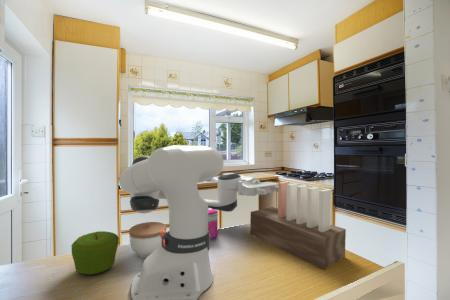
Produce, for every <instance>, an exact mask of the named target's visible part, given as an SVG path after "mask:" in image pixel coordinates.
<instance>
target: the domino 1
mask: <svg viewBox="0 0 450 300" xmlns="http://www.w3.org/2000/svg"><path fill="white" fill-rule="evenodd" d="M277 183H278V192H277V208H278V217H280V218H282V217H285V216H286V207H287V184H290V182H289V181H282V182H277Z"/></svg>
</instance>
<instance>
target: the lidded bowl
mask: <svg viewBox="0 0 450 300" xmlns="http://www.w3.org/2000/svg"><path fill="white" fill-rule="evenodd" d="M162 230H166V231H167V226H166V224H165V223H163V222H158V221H148V222H147V221H146V222H142V223H137V224H135V225H133V226H131V227H130V228H129V231H128V234H129V244H130V247H131V250H132V251H133V253H135V254H136V255H137V256H138V257H139V258H142V259H143V258H144V259H146V258H147V257H148V256H149V255H150V254H152V253H153V252H154V251H155V250H157V249H158V248H159V247H160V246H162V238H161V237H160V232H161V231H162Z"/></svg>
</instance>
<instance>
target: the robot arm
mask: <svg viewBox="0 0 450 300" xmlns="http://www.w3.org/2000/svg"><path fill="white" fill-rule="evenodd" d="M223 167H224V158H223V155H222V153H221V152H220V151H219V150H218V149H216V148H213V147H211V146H206V145H187V144H186V145H182V144H181V145H180V144H179V145H178V144H177V145H168V146H164V147H159V148H158V149H155V150H153V151H152V152H151V154H150V156H149V155H143V156H138V157H136V158H135V159H133V161H132V163H131V165H130V166H128V167H127V168H125V169H124V170H123V171H122V172H121V173H120V175H119V185H120V187H121V189H122V190H123V191H124V192H126V193H128V194H129V199H130V200H129V205H130V208H131V210H132V211H133V212H136V213H138V214H148V213H151V212H153V211H156V210H157V209H158V207H159V204H160V199H162V200H166V201H167V206H168V222H169V224H168V227H169V229H168V231H167V229H166V230H162V231H161V232H160V237H161V238H162V246H160V247H159V248H158V249H157V250H155V251H154V252H153V253H152V254H150V255H149V256H148V257H147V258H144V259H145V260H144V261H143V263H142V266H141V269H140V271H139V272H138V273H137V274H136V275H135V276H134V277H133V280H132V282H131V288H130V298H131V300H199V297H200V296H201V294H202V293H203V292H204V291H207V290H208V288H209V287H210V286H211V285H212V284H213V282H214V276H213V271H212V269H211V261H210V254H209V251H210V247H211V239H210V234H209V230H208V208H212V209H214V210H216V211H221V212H224V213H225V212H226V213H228V212H229V213H230V212H233V211H234V210H235V209H236V208H237V207H238V198H237V197H238V195H239V196H246V197H250V196H252V197H255V196H257V195H263V196H264V195H267V194H268V193H274V192H277V193H278V183H279V182H272V181H264V182H262V181H261V180H259V178H257V177H255V176H249V175H247V176H246V175H242V174H239V173H235V172H223V173H222V174H220V173H221V172H222V171H223ZM219 174H220V175H219ZM217 176H218V177H217ZM215 177H217V194H216V199H209V198H208V199H207V198H202V197H201V196H200V192H199V189H198V183H204V182H207V181H209V180H212V179H214V178H215Z"/></svg>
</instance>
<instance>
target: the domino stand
mask: <svg viewBox="0 0 450 300" xmlns="http://www.w3.org/2000/svg"><path fill="white" fill-rule="evenodd" d="M249 222H250V224H249V225H250V230H249V232H250V234H249V235H250V236H253V237H254V238H257V239H259V240H261V241H263V242H265V243H267V244H270V245H271V246H273V247H276V248H277V249H280V250H282V251H284V252H286V253H288V254H291V255H292V256H294V257H296V258H298V259H300V260H302V261H304V262H307V263H308V264H310V265H313V266H315V267H317V268H318V269H320V270H323V271H325V270H326V269H328V268H329V267H331V266H333V265H334V264H336V263H338V262H340V261H341V260H343V259H345V258H346V235H347V233H346V232H347V231H346V229H345V228H344V227H339V226H337V225H333V224H330V229H329V230H327V231H325V232H320V231H318V226H315V227H313V228H308V227H307V222H306V223H303V224H297V223H296V219H295V220H291V221H288V220H286V216H285V217H282V218H280V217H278V207H275V206H274V207H273V206H269V207H266V208H261V209H258V210H253V211H252V210H251V211H250V221H249Z"/></svg>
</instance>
